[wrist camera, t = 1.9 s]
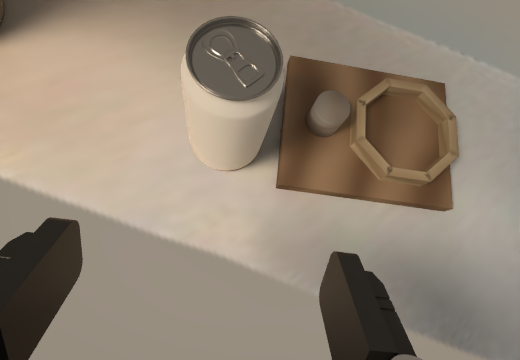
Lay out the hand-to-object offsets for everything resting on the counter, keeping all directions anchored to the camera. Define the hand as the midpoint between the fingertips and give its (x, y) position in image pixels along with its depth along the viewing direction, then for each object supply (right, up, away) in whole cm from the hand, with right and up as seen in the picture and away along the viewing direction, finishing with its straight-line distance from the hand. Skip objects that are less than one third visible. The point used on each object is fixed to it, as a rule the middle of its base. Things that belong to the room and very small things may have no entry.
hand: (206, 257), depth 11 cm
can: (-1, +6, +20) cm, 21 cm away
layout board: (+12, +7, +22) cm, 26 cm away
